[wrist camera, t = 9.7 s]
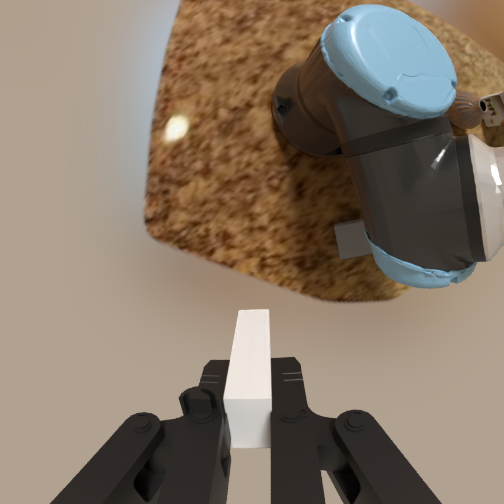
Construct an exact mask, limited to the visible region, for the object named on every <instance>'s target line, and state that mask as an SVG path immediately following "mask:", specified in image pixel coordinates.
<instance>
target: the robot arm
mask: <svg viewBox="0 0 504 504" xmlns="http://www.w3.org/2000/svg"><path fill="white" fill-rule="evenodd" d="M456 86H457V77H456V73H455V70H454V67H453V64H452V61H451V59H450V57H449V55H448V53H447V52H446V50H445V49H444V47H443V46H442V44H441V43H440V42H439V41H438V39H437V38H436V37H435V36H434V35H433V34H432V33H431V32H430V31H429V30H428V29H427V28H426V27H424V26H423V25H422V24H421V23H419V22H418V21H415V20H413V19H412V18H411V17H409V16H408V15H406V14H405V13H403V12H401V11H398V10H396V9H393V8H390V7H386V6H382V5H374V4H365V5H358V6H355V7H352V8H349V9H347V10H345V11H344V12H343V13H341V14H340V15H339V16H338V17H337V18H336V19H335V21H334V22H333V23H331V24H330V25H328V26H327V27H326V28H325V30H324V32H323V33H322V36H321V37H320V39H319V41H318V42H317V44H316V45H315V47H314V49H313V50H312V52H311V53H310V55H309V57H308V58H307V60H305V61H302V62H299V63H297V64H295V65H293V66H292V67H290V68H289V69H288V70H287V71H285V72H284V74H283V75H282V76H281V77H280V79H279V81H278V82H277V85H276V87H275V89H274V92H273V95H272V114H273V118H274V121H275V123H276V125H277V127H278V129H279V131H280V132H281V134H282V135H283V136H284V138H285V139H286V140H287V141H288V142H289V143H290V144H291V145H293V146H294V147H295V148H297V149H298V150H300V151H302V152H303V153H306V154H308V155H311V156H314V157H319V158H335V157H339V156H344V157H345V158H344V159H345V162H346V165H347V168H348V171H349V174H350V177H351V180H352V183H353V187H354V190H355V193H356V197H357V200H358V203H359V207H360V210H361V214H362V218H363V221H364V225H365V226H364V232H365V235H366V238H367V240H368V241H369V243H370V246H371V249H372V253H373V256H374V260H375V262H376V264H377V266H378V267H379V268H380V269H381V271H382V272H383V273H384V274H385V275H386V276H388V277H389V278H391V279H392V280H394V281H396V282H398V283H401V284H404V285H407V286H411V287H417V288H442V287H447V286H449V284H450V282H453V283H456V284H457V283H460V282H462V281H463V280H465V279H467V278H468V277H469V276H470V275H471V274H472V272H473V271H474V269H475V266H476V264H477V262H486V261H491V260H492V258H493V257H494V256H495V255H496V254H497V252H498V251H499V250H500V248H501V247H502V246H504V146H503V147H496V148H494V147H489V146H488V145H486V144H485V143H484V142H483V141H481V140H480V139H479V138H477V137H476V136H474V135H473V134H468V135H462V136H454V133H453V131H452V127H451V124H450V121H449V118H448V115H447V112H446V111H447V110H448V109H449V107H450V106H451V105H452V103H453V102H454V100H455V97H456V90H455V89H454V87H456ZM179 401H180V404H181V407H182V411H183V414H184V415H183V416H182V417H179V418H176V419H171V420H163V421H160V420H159V418H158V417H157V416H156V415H154V414H152V413H146V412H143V413H136V414H134V415H131V416H130V417H129V418H128V419H126V420H125V422H124V423H123V424H122V425H121V426H120V427H119V428H118V429H117V431H116V432H115V433H114V434H113V435H112V436H111V437H110V439H109V440H108V441H107V442H106V443H105V444H104V445H103V446H102V447H101V448H100V450H99V451H98V452H97V453H96V454H95V455H94V456H93V457H92V458H91V460H90V461H89V462H88V463H87V464H86V465H85V466H84V467H83V468H82V470H81V471H80V472H79V473H78V474H77V475H76V476H75V477H74V478H73V479H72V480H71V482H70V483H69V484H68V485H67V486H66V487H65V488H64V489H63V490H62V491H61V492H60V493H59V494H58V496H57V497H56V498H55V499H54V500H53V501H52V502H51V503H50V504H226V500H227V492H228V482H229V475H230V466H231V455H230V445H232V448H271V504H325V497H324V490H323V483H322V477H321V470H325V471H327V473H328V475H329V477H330V479H331V481H332V483H333V484H334V486H335V488H336V490H337V492H338V494H339V496H340V498H341V500H342V501H343V503H344V504H442V503H441V502H440V501H439V500H438V498H437V497H436V496H435V495H434V493H433V492H432V491H431V490H430V488H429V487H428V486H427V484H426V483H425V482H424V481H423V479H422V478H421V477H420V476H419V475H418V473H417V472H416V471H415V469H414V468H413V467H412V466H411V464H410V463H409V462H408V460H407V459H406V458H405V457H404V455H403V454H402V453H401V452H400V450H399V449H398V448H397V446H396V445H395V444H394V443H393V441H392V440H391V439H390V438H389V436H388V435H387V434H386V433H385V431H384V430H383V429H382V427H381V426H380V425H379V424H378V423H377V421H376V420H375V419H374V417H373V416H372V415H370V414H369V413H367V412H364V411H362V410H350V411H346V412H344V413H342V414H340V415H339V416H338V417H337V418H328V417H323V416H320V415H317V414H315V413H314V412H312V411H311V410H310V408H309V407H308V405H307V400H306V394H305V388H304V382H303V377H302V371H301V365H300V363H299V362H298V361H297V360H296V358H295V357H286V358H285V357H284V358H271V353H270V328H269V309H260V310H239V313H238V319H237V325H236V330H235V336H234V342H233V347H232V353H231V359H230V360H210V361H209V362H208V363H207V365H205V367H204V370H203V373H202V377H201V379H200V383H199V386H197V387H192V388H189V389H187V390H185V391H184V392H183V393H181V395H180V397H179Z"/></svg>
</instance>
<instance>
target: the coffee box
mask: <svg viewBox="0 0 504 504" xmlns="http://www.w3.org/2000/svg"><path fill="white" fill-rule="evenodd" d="M479 99H482V100H484V101H485V103H486V105H487V113H486V114H485V115H484V117H483V119H484V122H485V124H486V126H487V127H494V126H502V125H504V91H502V92H497V93H493V94H490V95H487V96H484V97H482V98H479Z"/></svg>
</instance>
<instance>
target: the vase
mask: <svg viewBox="0 0 504 504" xmlns="http://www.w3.org/2000/svg"><path fill="white" fill-rule="evenodd" d="M446 112H447V115H448V118H449V121H450V122H451V123H452V124H453V125H454V126H456V127H458V128H461V129H472V128H475V127H476V126H478V125H479V124H480V123H481V122H482V120H483V117H484V115H485V114H486V113H487V105H486V103H485V101H484V100H482V99H479V98H478V97H476V96H475V95H473V94H472V93H469V92H464V91H460V92H456V97H455V100H454V102H453V103H452V105H451V106H450V107H449V109H448V110H447V111H446Z"/></svg>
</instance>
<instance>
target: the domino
mask: <svg viewBox="0 0 504 504" xmlns="http://www.w3.org/2000/svg"><path fill="white" fill-rule="evenodd" d="M364 226H365V225H364V221H363V218H362V219H356V220H351V221H346V222H341V223H335V224H334V229H335V235H336V240H337V245H338V251H339V256H340V260H342V259H347V258H353V257H358V256H363V255H369V254H373V253H372V249H371V246H370V243H369V241H368V240H367V238H366V235H365V232H364Z"/></svg>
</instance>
